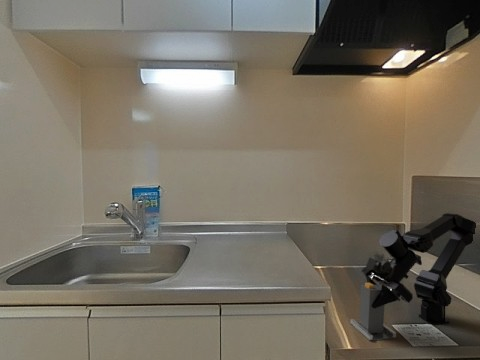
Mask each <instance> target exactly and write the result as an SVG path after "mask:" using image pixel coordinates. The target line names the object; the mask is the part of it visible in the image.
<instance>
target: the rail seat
mask: <svg viewBox="0 0 480 360" xmlns="http://www.w3.org/2000/svg"><path fill="white" fill-rule="evenodd" d="M349 322H350V325H351V326H352V327H354V329H356V330H357V331H358V333H360V334H362V336H364V337H365V338H366V339H367V340H368V341H369V342H373V341H382V340H390V339H396V338H397V332H395V331H394V330H393V329H391V328H390V327H389V326H388V325H386V324H385V323H383V333H369V332H368V331H367V330H366V329H364V328H363V327H362V326H361V325H360V324H359V321H356V320H355V319H354V318H350V321H349Z"/></svg>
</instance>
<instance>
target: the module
mask: <svg viewBox="0 0 480 360" xmlns="http://www.w3.org/2000/svg"><path fill="white" fill-rule="evenodd" d="M381 290H382V286H380V285H379V286H377V285H376V284H371V283H367V282H364V284H360V297H359V298H360V299H359V300H360V302H359V317H358V319H359V321H358V322H359V324H360V325H361V326H362V327H363V328H364V329H366V330H367V331H368V332H369V333H383V324H385V321H384V320H385V305H382V306H380V307H377V308H375V309H374V308H373V307H372V304H373V302H374V301H375V299H376V298H377V297H378V295H379V294H380V292H381Z"/></svg>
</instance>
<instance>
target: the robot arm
mask: <svg viewBox="0 0 480 360" xmlns="http://www.w3.org/2000/svg"><path fill="white" fill-rule="evenodd" d="M475 222H476V221H475ZM475 222H474V220H471V219H468V218H466V217H464V216H462V215H460V214H459V213H450V212H449V213H448V212H446V213H443V214H442V216H441V217H439V218H437V219H435V220H434V221H432V222H431V223H429V224H427V225H425V226H424V227H422V228H417V229H412V230H409V231H406V232H405V233H403V235H401V232H400V231H399V230H397V229H391V230H390V231H388V232H386V233H384V234H383V235H381V236H380V237H379V244H380V246H381V247H382V248H383V249H384V250H385V252H386V253H387V254H388V255H389V256H390V257H391V258H392V259H391V260H390V261H389V260H383V259H382V260H381V261H380V260H377V259H375V258H373V257H371V256H370V257H369V258H368V260H367V263H366V265H365V267H363V268H362V270H361V271H360V272H361V273H362V274H363V275H364V276H365V278H366V283H371V284H376V285H377V286H379V287H380V285H381V288H382V290H381V292H380V294H379V295H378V297H377V298H376V299H375V301H374V302H373V304H372V307H373V308H374V309H375V308H377V307H380V306H382V305H384V306H386V305H387V304H389V303H393V302H397V301H398V302H400V301H401V300H402V301H404V302H405V303H408V304H409V303H410V302H411V301H412V300H413V299H414V298H413V293H412V292H411V291H410V290H409V289H408V287H406V286H405V285H404V284H403V283H401V281H402V280H403V279H405V280H407V279H408V278H409V275H408V273H409V272H410V270H411V269H413V267H414V266H415V264H417V265H418V266H422V265H423V264H422V256H421V255H419V254H416V253H415V252H417V253H422V254H424V253H427V252H428V251H429V250H430V249H431V248H432V247H434V241H435V240H437V239H438V238H440V237H443V235H445V234H447V233H448V232H449V236H450V238H449V240H448V241H447V243H446V244H445V246H444V248H443V249H442V251H441V252H440V254H439V255H438V257H437V258H436V260H435V261H434V263H433V265H432V267H431V268H430V269H429V270H425V269H422V270H420V271H419V274H418V276H417V277H415V281H414V284H413V287H414V291H415V295H416V298H418V299H421V304H420V313H419V314H418V317H419V318H421V319H423V320H424V321H426V322H427V323H428V324H429V323H430V324H431V325H437V324H449V323H450V319H449V320H448V319H447V318H446V307H449V306H450V305H451V302H452V296H451V295H450V294H449V293H448V291H447V289H448V285H447V283H448V282H447V278H448V276H449V274H450V273H451V271H452V270H453V268H454V267H455V265H456V263H457V262H458V260H459V258H460V256H461V255H462V253H463V251H464V250H465V248H466V247H467V246H469V245H471V244H473V243H472V241H473V234H475V228H476V223H475ZM400 297H401V299H400Z"/></svg>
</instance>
